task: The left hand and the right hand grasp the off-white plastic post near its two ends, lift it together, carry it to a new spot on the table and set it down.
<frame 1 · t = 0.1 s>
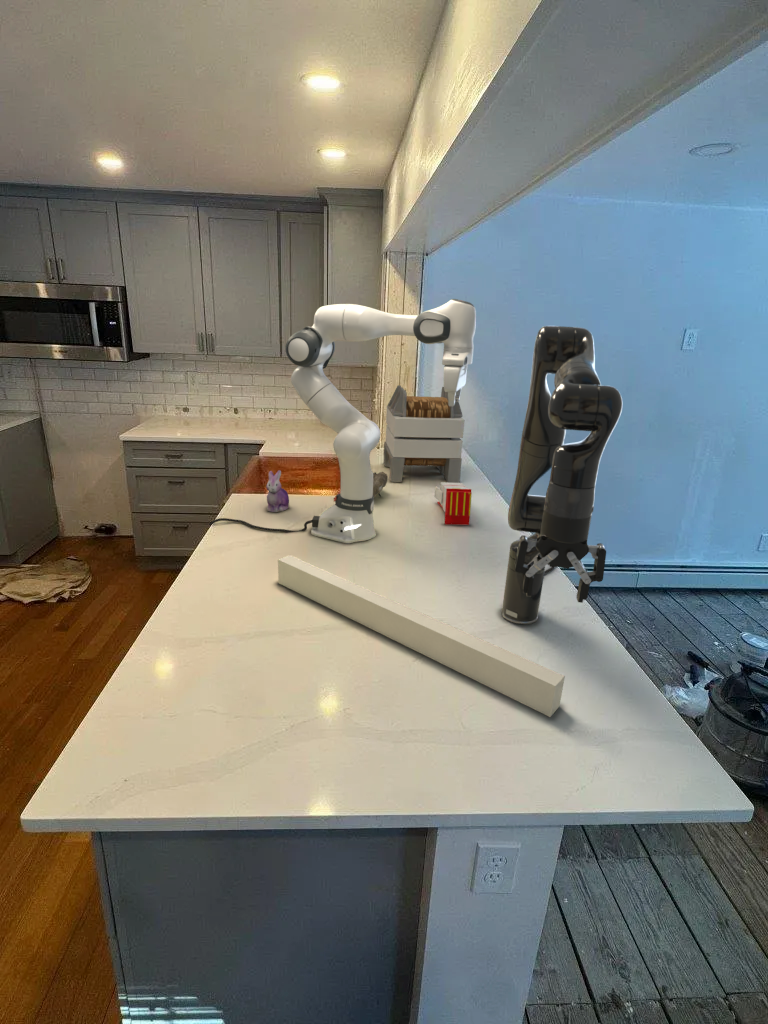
left hand: (453, 403, 174), 48 cm above the counter, tool pointing down, fingers open, 8 cm apart
right hand: (553, 597, 98), 29 cm above the counter, tool pointing down, fingers open, 8 cm apart
figurine: (277, 508, 219), on the counter
post: (395, 634, 138), on the counter
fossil: (371, 496, 238), on the counter
toy: (451, 512, 223), on the counter
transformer: (419, 473, 275), on the counter
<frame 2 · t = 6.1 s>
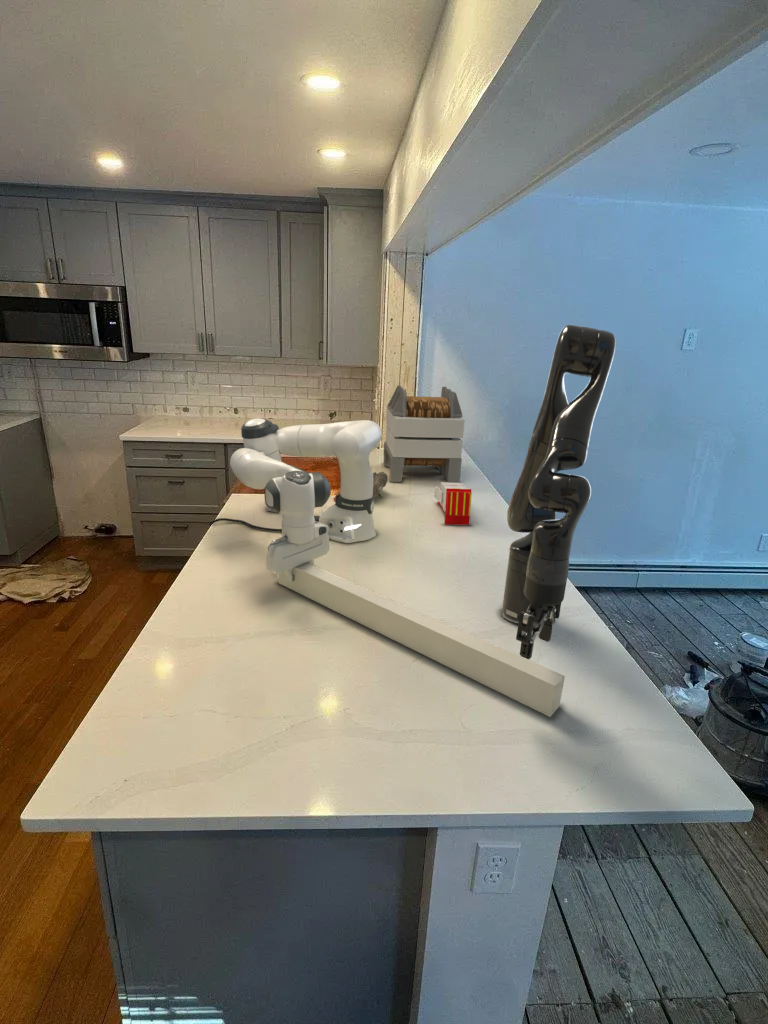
left hand: (298, 577, 158), 3 cm above the counter, tool pointing down, fingers closed on post, 4 cm apart
right hand: (535, 648, 113), 12 cm above the counter, tool pointing down, fingers open, 8 cm apart
post: (395, 634, 138), on the counter, touching left hand
everything else where it was.
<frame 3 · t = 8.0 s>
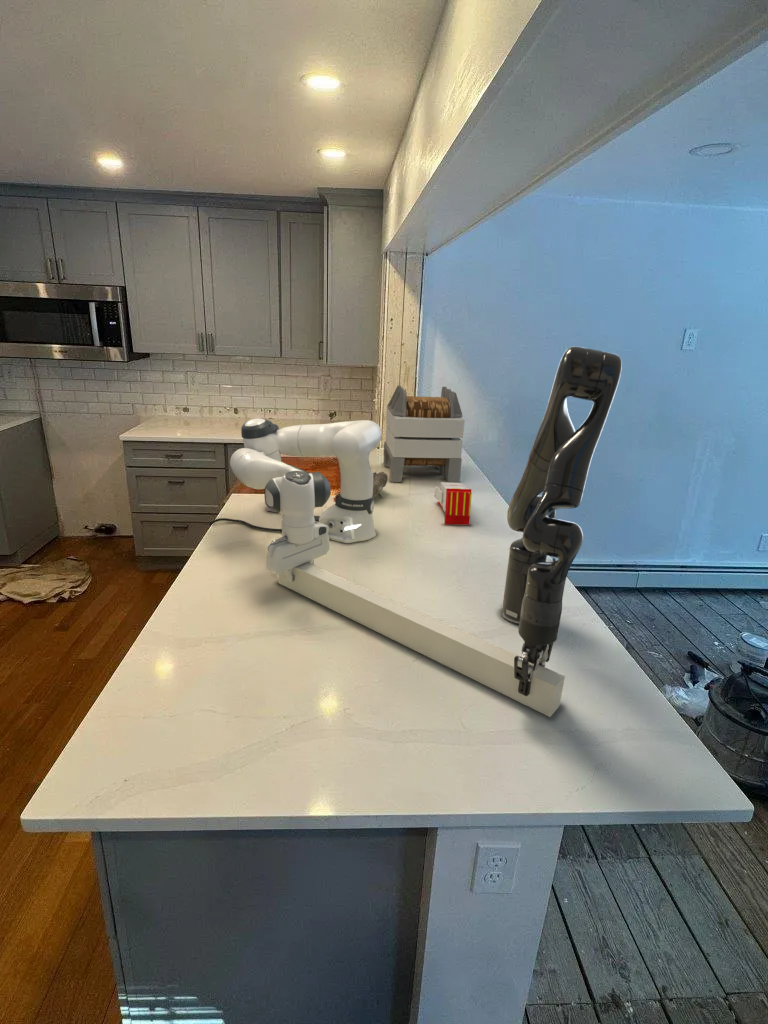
left hand: (298, 577, 158), 3 cm above the counter, tool pointing down, fingers closed on post, 4 cm apart
right hand: (529, 687, 116), 3 cm above the counter, tool pointing down, fingers closed on post, 4 cm apart
post: (395, 634, 138), on the counter, touching left hand, right hand
everything else where it was.
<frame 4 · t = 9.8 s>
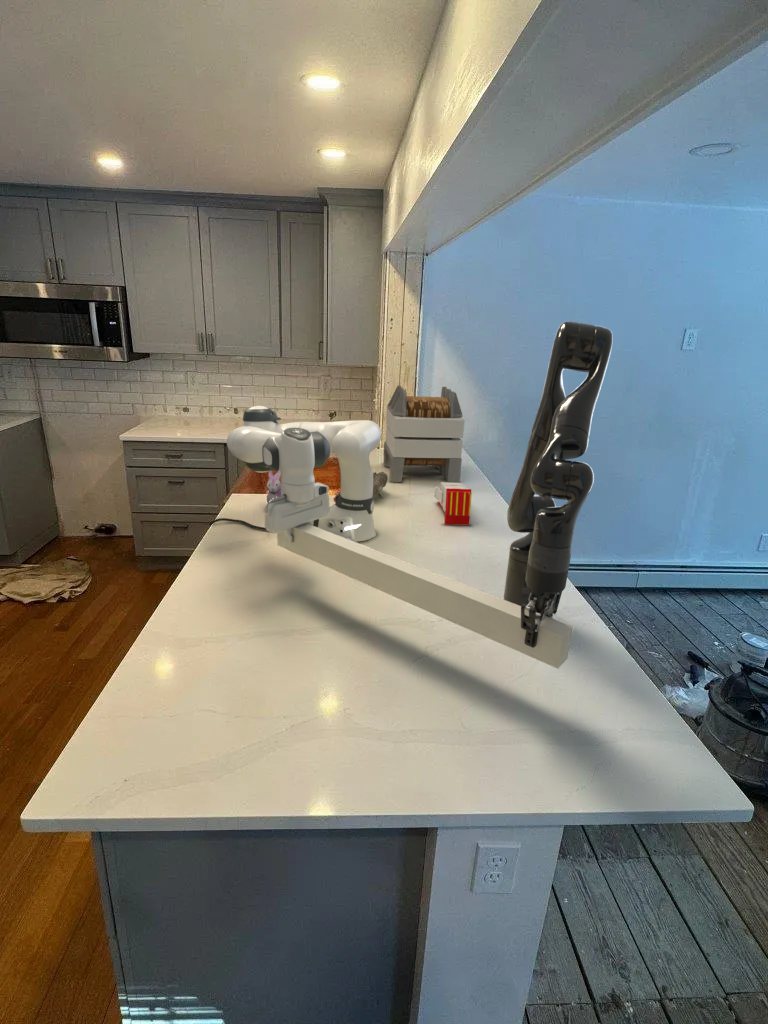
left hand: (298, 539, 154), 15 cm above the counter, tool pointing down, fingers closed on post, 4 cm apart
right hand: (536, 639, 113), 14 cm above the counter, tool pointing down, fingers closed on post, 4 cm apart
post: (398, 592, 135), point 11 cm above the counter, touching left hand, right hand
everything else where it was.
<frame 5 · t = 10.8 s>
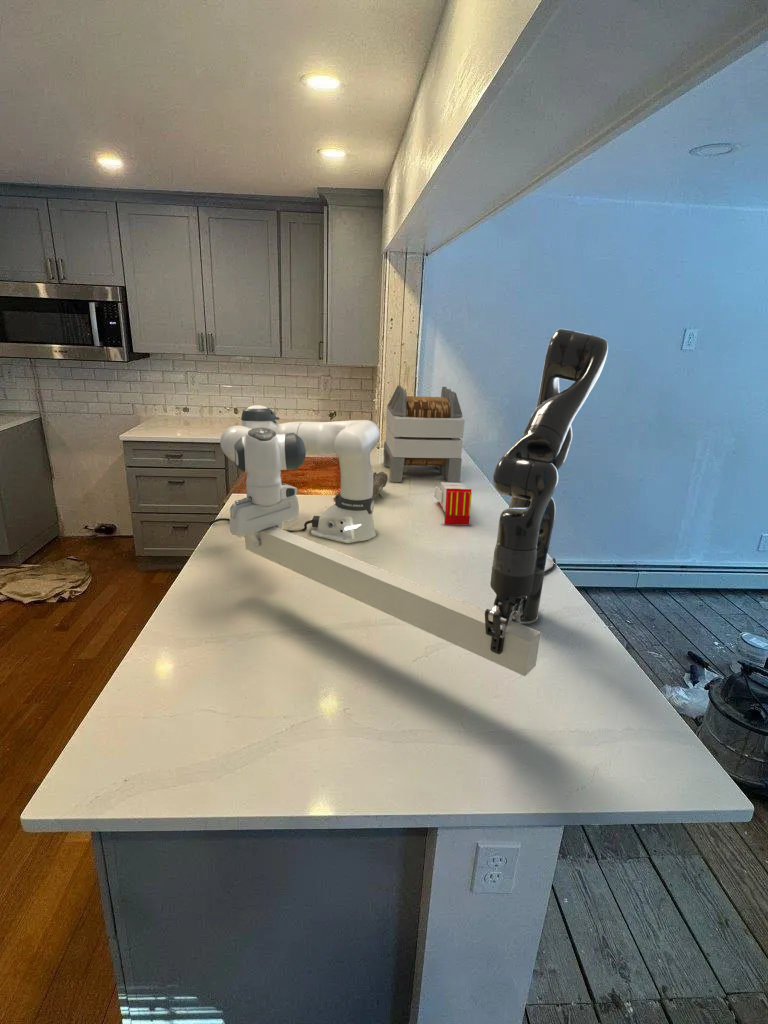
left hand: (266, 542, 149), 15 cm above the counter, tool pointing down, fingers closed on post, 4 cm apart
right hand: (502, 646, 108), 15 cm above the counter, tool pointing down, fingers closed on post, 4 cm apart
post: (365, 597, 130), point 12 cm above the counter, touching left hand, right hand
everything else where it was.
when the left hand's fingers open (4 cm above the counter, at t = 13.6 s): post stays where it is, on the counter.
when the right hand's fingers open (4 cm above the counter, at t = 13.6 s): post stays where it is, on the counter.
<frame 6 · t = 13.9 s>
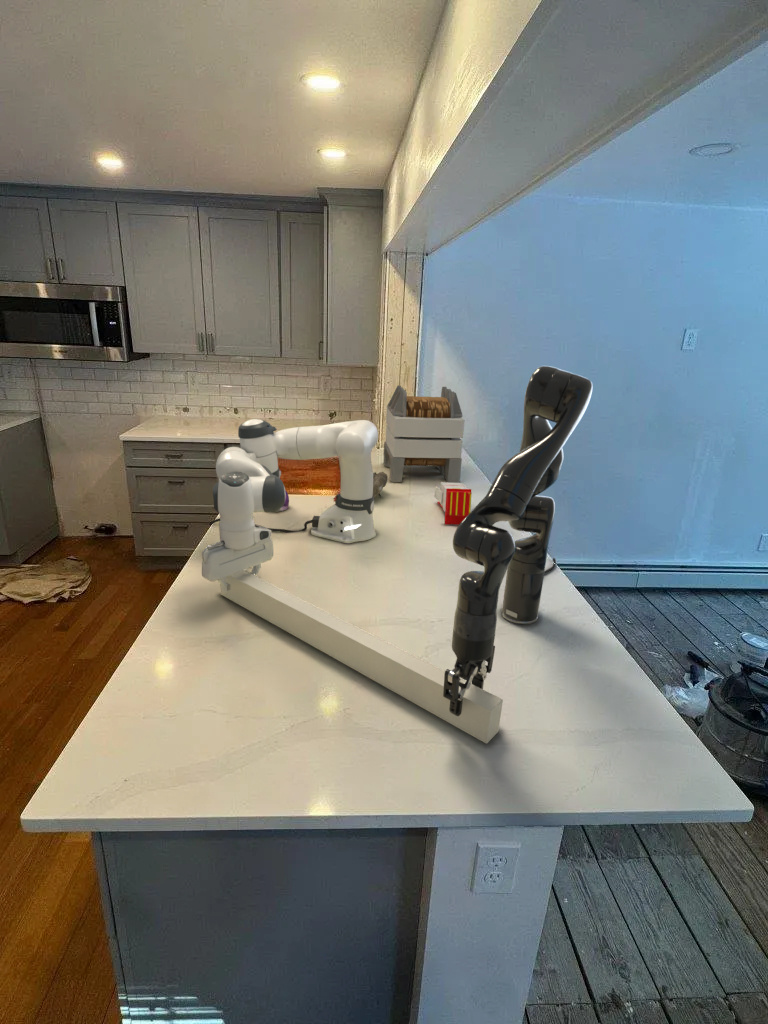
left hand: (240, 584, 149), 5 cm above the counter, tool pointing down, fingers open, 7 cm apart
right hand: (465, 703, 108), 5 cm above the counter, tool pointing down, fingers open, 7 cm apart
post: (335, 651, 130), on the counter
everything else where it was.
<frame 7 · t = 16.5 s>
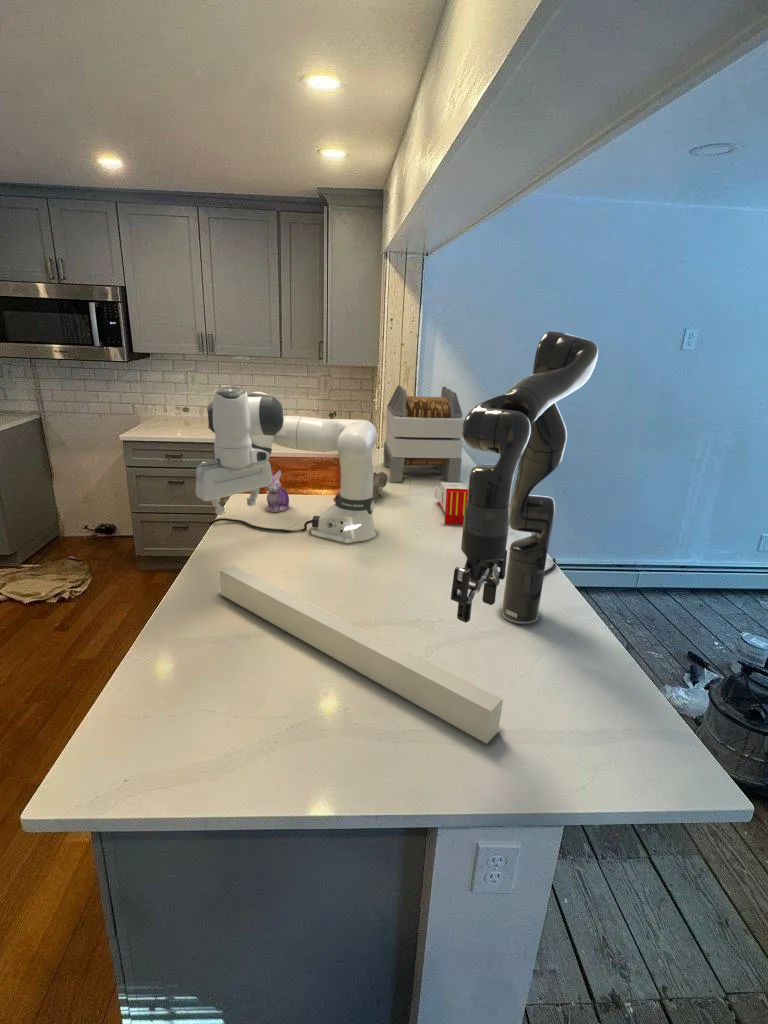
left hand: (236, 509, 142), 26 cm above the counter, tool pointing down, fingers open, 8 cm apart
right hand: (476, 611, 101), 25 cm above the counter, tool pointing down, fingers open, 8 cm apart
nothing on the counter moved.
at the end: post inside the target area (0.4 cm from its centre), on the counter; post tilted 0°; post never tilted more than 1° during the clip; both hands held the post at the same time; the left hand is holding nothing; the right hand is holding nothing; post at rest at the end (0.0 cm/s) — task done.
